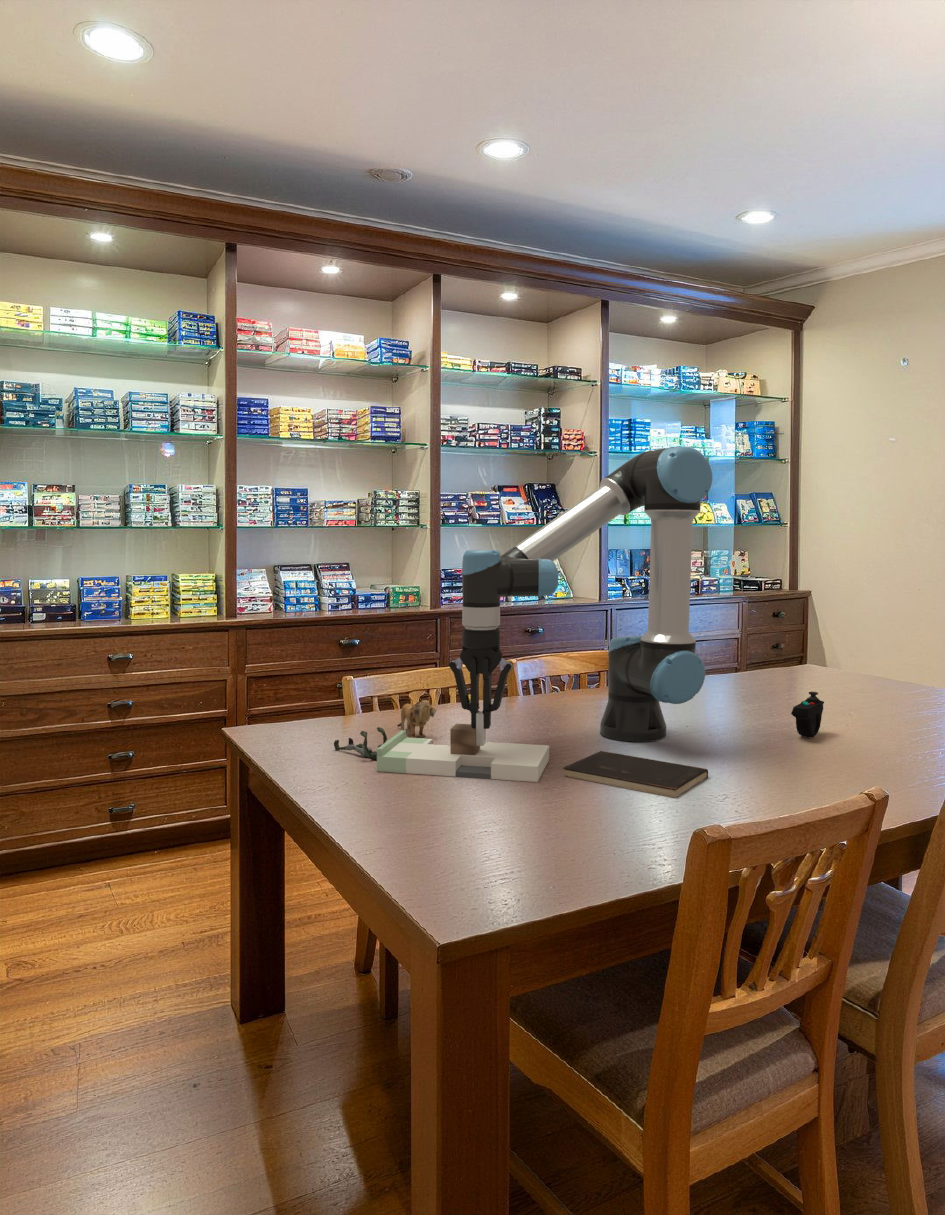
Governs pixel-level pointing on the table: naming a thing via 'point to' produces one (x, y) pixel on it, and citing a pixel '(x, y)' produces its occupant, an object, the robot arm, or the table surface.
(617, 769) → the hardcover book
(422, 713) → the lion figurine
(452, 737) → the walnut block
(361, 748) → the zombie figurine
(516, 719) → the table surface
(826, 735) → the table surface
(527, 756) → the trap board
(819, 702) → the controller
